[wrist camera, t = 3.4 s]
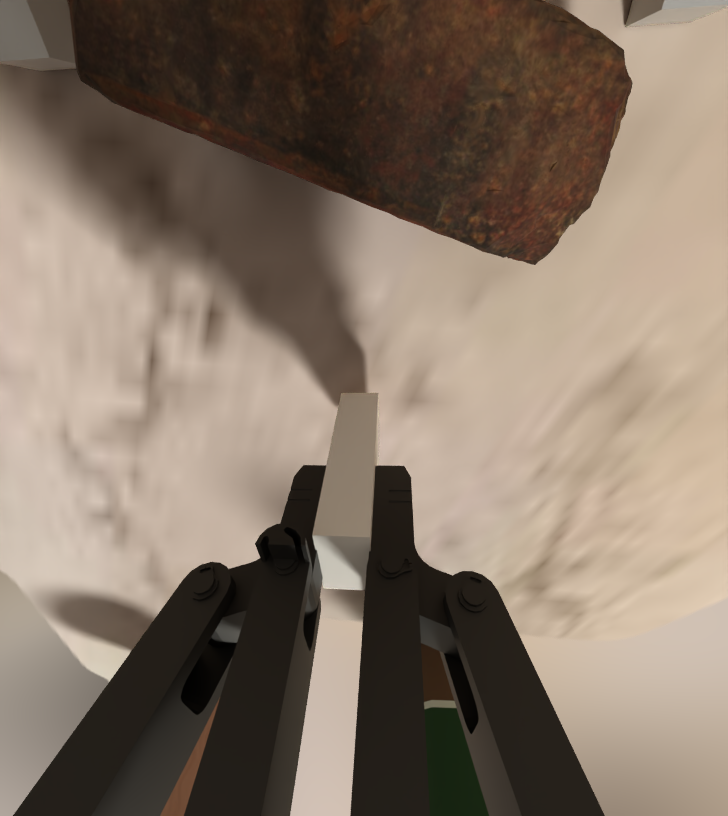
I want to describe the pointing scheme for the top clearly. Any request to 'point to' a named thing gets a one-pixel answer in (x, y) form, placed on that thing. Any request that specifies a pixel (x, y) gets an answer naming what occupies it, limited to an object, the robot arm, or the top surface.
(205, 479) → the top surface
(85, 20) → the brick
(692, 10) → the rails
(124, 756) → the robot arm
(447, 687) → the beer bottle
